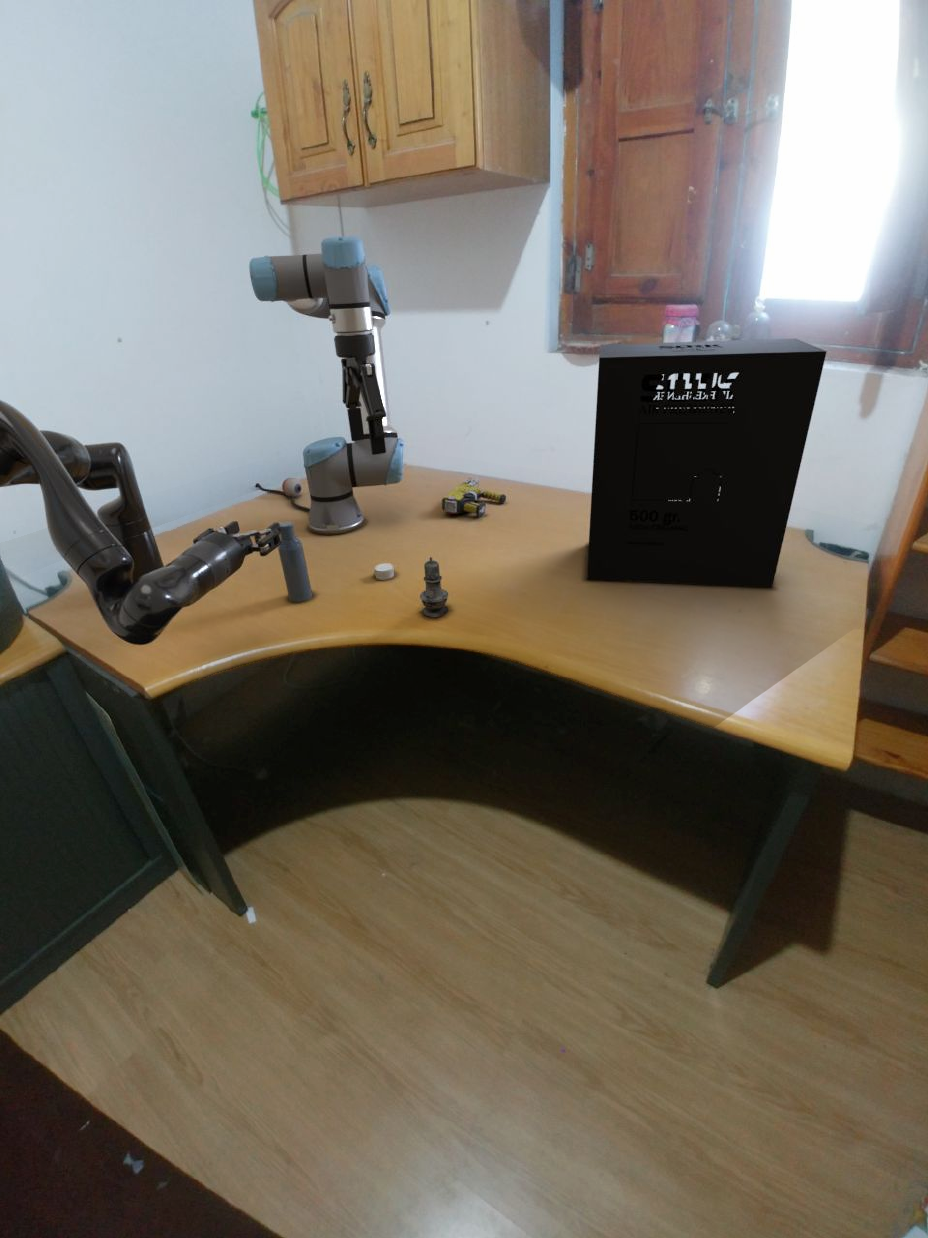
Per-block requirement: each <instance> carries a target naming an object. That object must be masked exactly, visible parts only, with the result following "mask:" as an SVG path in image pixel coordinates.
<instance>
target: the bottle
mask: <svg viewBox="0 0 928 1238" xmlns="http://www.w3.org/2000/svg"><path fill="white" fill-rule="evenodd" d="M278 523H279V525H280V526H281V531H282V533H281V534H280V539H281V545H280V546H278V547H277V550H278V555H279V560H280V563H281V564H280V565H281V568H282V573H283V578H284V582H285V586H286V590H287V596H288V599H289V601H290V602H292V603H304V602H306V601H309V600H310V599H312V598H313V591H312V586H311V581H310V576H309V570H308V566H307V562H306V557H305V551H304V546H303V542H302V541H301V540H300V539H299V537H298V536H297V535H296V531H295V528H294V526H295V525H294V522H293V521H282V522H278Z"/></svg>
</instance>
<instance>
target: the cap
mask: <svg viewBox="0 0 928 1238" xmlns="http://www.w3.org/2000/svg"><path fill="white" fill-rule="evenodd" d="M374 575H375V578H376V579H377V580H380V581H387V580H391V579H392V578H394V576H395V570H394V565H393V564H391V563H387V562H385V563H379V564H376V565H375V567H374Z"/></svg>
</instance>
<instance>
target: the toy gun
mask: <svg viewBox="0 0 928 1238" xmlns="http://www.w3.org/2000/svg"><path fill="white" fill-rule="evenodd" d="M477 485H479V479H478V478H474V479H473V477H469V478H467V480H466V481H464V482H462V483H460V484H459V485H458V486H456V488H454V489H453V490H451V491H450V492H449V493H448V494H446V495H445V496H444V497H443V498H442V499H441V510H442V511H443V512H444V513H446V514H448V515H453V514H457V515H458V514H462V513H471V514H475V515H476V518H480V517H482V516H483V515H485V514H486V504H487V503H486V502H484V501H482V502H480V501H479V500H480V499H481V498H483V499H485V500H486V499H487V500H491V501H494V502H498V503H501V504H503V503H505V502H506V500H507V495H505V494H504V493H498V492H497V493H496V492H492V491H488V490H483V491H482V492H481V490H480V488H479V486H477Z"/></svg>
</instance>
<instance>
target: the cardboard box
mask: <svg viewBox="0 0 928 1238" xmlns="http://www.w3.org/2000/svg"><path fill="white" fill-rule="evenodd" d="M827 352H828V351H827V350H824V349H822V348H820V347H818V346H815V345H813V344H811V343H808V342H806V341H802V340H801V339H799V338H768V339H766V338H765V339H737V340H736V339H735V340H709V341H708V340H707V341H705V340H703V341H675V342H672V341H671V342H648V343H647V342H646V343H645V342H644V343H643V342H642V343H616V344H615V343H614V344H612V343H611V344H600V348H599V355H598V356H599V358H598V370H597V371H598V372H597V390H596V391H597V392H596V409H595V410H596V411H595V426H594V445H593V459H592V460H593V461H592V462H593V463H592V479H591V497H590V515H589V532H588V533H589V535H588V547H587V548H588V549H587V568H586V580H588V581H611V582H635V583H655V584H657V583H658V584H675V585H676V584H679V585H698V586H699V585H703V586H725V587H743V588H744V587H745V588H746V587H747V588H768V589H773V586H774V582H775V578H776V573H777V569H778V565H779V560H780V555H781V550H782V548H783V543H784V540H785V539H784V538H785V534H786V530H787V525H788V521H789V517H790V513H791V512H790V511H791V509H792V504H793V499H794V496H795V490H796V486H797V483H798V477H799V474H800V469H801V465H802V461H803V456H804V451H805V447H806V444H807V443H806V442H807V439H808V434H809V429H810V425H811V421H812V416H813V412H814V408H815V404H816V400H817V395H818V391H819V387H820V382H821V378H822V373H823V368H824V365H825V360H826V356H827ZM685 374H689V378H688V385H690V388H686V384H687V379H685V378H684V375H685ZM699 374H700V379H699V378H697V375H699ZM715 374H716V380H715V384H714V386H713V383H714V378H715ZM731 374H736V376H735V378H729V377H730V376H731ZM672 375H677V378H676V379H675V380H674V384H673V385H674V387H673V388H671V385H672V379H671V378H670V377H671V376H672ZM719 379H720V381H719ZM700 384H701V385H705V387H704V388H699V385H700ZM719 384H720V385H724V384H729V387H720V386H719ZM659 386H661V387H662V388H658V387H659Z"/></svg>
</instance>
